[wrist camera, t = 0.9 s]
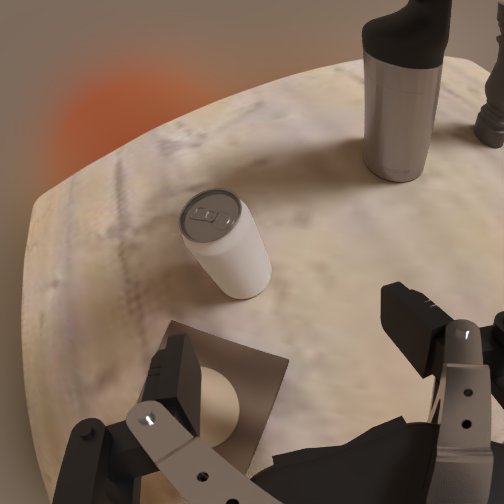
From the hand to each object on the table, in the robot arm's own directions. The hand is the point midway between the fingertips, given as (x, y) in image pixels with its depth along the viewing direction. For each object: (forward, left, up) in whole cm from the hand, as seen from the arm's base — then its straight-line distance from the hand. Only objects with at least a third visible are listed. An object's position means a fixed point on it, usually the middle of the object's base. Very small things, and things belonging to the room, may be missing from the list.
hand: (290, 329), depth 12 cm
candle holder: (-43, +22, -19) cm, 52 cm away
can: (-9, -11, -19) cm, 24 cm away
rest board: (+7, -10, -19) cm, 23 cm away
